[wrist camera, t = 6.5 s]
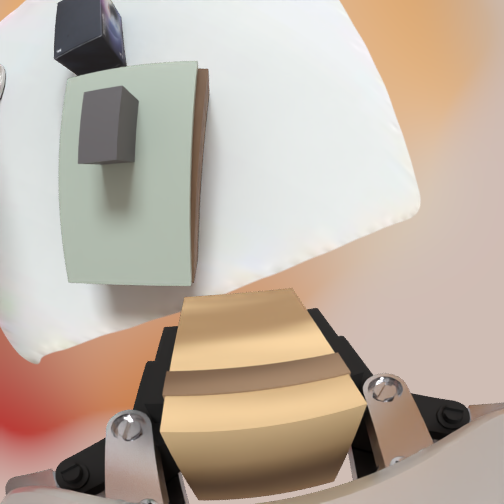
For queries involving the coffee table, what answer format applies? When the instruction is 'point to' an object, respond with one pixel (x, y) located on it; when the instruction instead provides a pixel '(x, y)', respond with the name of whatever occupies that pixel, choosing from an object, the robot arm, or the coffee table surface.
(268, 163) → the coffee table surface
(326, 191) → the coffee table surface
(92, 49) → the small box
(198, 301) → the wooden block
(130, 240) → the lid
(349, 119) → the coffee table surface
